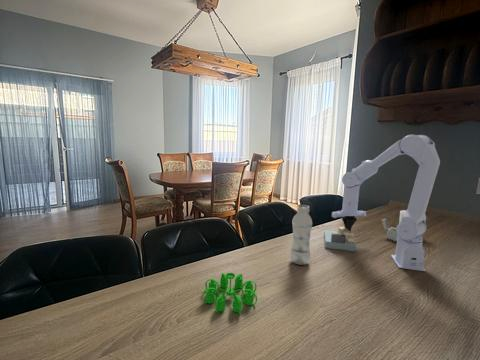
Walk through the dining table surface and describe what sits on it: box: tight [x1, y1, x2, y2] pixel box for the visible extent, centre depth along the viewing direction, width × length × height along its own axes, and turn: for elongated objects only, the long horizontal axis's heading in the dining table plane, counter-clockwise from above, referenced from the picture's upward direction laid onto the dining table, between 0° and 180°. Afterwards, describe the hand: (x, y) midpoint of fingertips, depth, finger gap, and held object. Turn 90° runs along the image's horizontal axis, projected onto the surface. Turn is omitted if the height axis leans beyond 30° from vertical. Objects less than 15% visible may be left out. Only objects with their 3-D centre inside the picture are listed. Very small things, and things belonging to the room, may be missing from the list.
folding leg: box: [337, 226, 356, 242], centre depth 105 cm, size 9×2×3 cm, turn 4°
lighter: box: [381, 218, 398, 242], centre depth 113 cm, size 7×2×8 cm, turn 31°
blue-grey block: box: [323, 229, 357, 252], centre depth 107 cm, size 13×11×6 cm
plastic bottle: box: [289, 204, 313, 266], centre depth 88 cm, size 6×7×20 cm
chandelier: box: [201, 272, 258, 315], centre depth 69 cm, size 15×15×7 cm
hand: (347, 233), depth 108 cm, fingers closed, pressing on folding leg
